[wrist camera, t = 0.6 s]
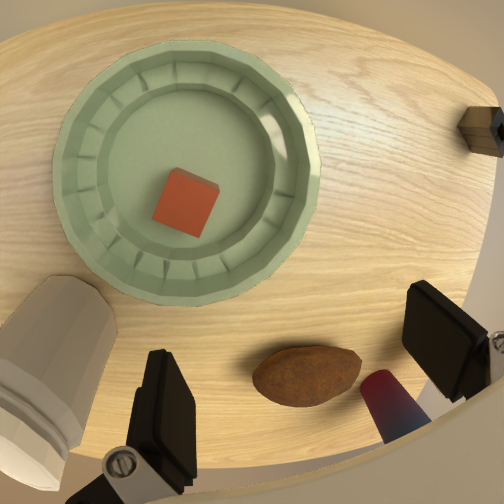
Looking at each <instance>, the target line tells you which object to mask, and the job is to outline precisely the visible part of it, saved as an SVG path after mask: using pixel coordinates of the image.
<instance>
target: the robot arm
mask: <svg viewBox="0 0 504 504" xmlns="http://www.w3.org/2000/svg"><path fill="white" fill-rule="evenodd" d="M487 334H488V331H486V330H485V329H484V328H483V327H482V326H480V324H478V323H477V322H476V321H475V320H474V319H473V318H471V317H470V316H469V315H468V314H467V313H466V312H464V311H463V310H462V309H461V308H459V307H458V306H457V305H456V304H455V303H453V302H452V301H451V300H450V299H448V298H447V297H446V296H445V295H443V294H442V293H441V292H440V291H438V290H437V289H436V288H434V287H433V286H432V285H431V284H429V283H428V282H427V281H425V280H421V281H418V282H415V283H412V284H411V285H410V288H409V289H408V291H407V300H406V310H405V319H404V327H403V335H402V343H403V346H404V347H405V349H406V350H407V351H408V352H409V354H410V355H411V356H412V357H413V358H414V360H415V361H416V362H417V363H418V364H419V366H420V367H421V368H422V369H423V371H424V372H425V373H426V374H427V376H428V377H429V378H430V379H431V381H432V382H433V383H434V384H435V386H436V387H437V388H438V389H439V391H440V392H441V393H442V395H443V396H444V397H445V398H449V399H450V400H451V402H452V403H454V402H456V401H457V400H459V399H460V398H462V396H464V397H465V398H466V401H465V402H464V403H462V404H461V405H459V406H457V407H456V408H454V409H453V410H451V411H449V412H447V413H446V414H444V415H442V416H441V417H439V418H438V419H435V420H434V421H432V422H430V423H428V424H426V425H424V426H422V427H421V428H419V429H417V430H415V431H413V432H411V433H409V434H407V435H405V436H403V437H401V438H398V439H396V440H394V441H392V442H390V443H387V444H385V445H383V446H381V447H378V448H376V449H373V450H372V451H369V452H366V453H364V454H361V455H358V456H356V457H353V458H350V459H348V460H345V461H342V462H339V463H336V464H333V465H330V466H327V467H323V468H320V469H317V470H314V471H310V472H307V473H303V474H299V475H296V476H291V477H287V478H283V479H279V480H274V481H270V482H265V483H259V484H254V485H249V486H243V487H237V488H231V489H224V490H216V491H208V492H201V493H192V494H184V495H183V494H182V493H183V492H184V486H193V479H195V478H197V458H196V404H195V400H194V397H193V395H192V393H191V391H190V389H189V387H188V385H187V383H186V382H185V380H184V378H183V376H182V374H181V371H180V369H179V367H178V365H177V363H176V361H175V359H174V357H173V355H172V353H171V352H166V350H165V349H160V350H154V351H150V352H149V354H148V359H147V363H146V368H145V373H144V378H143V383H142V387H138V388H137V390H136V392H135V397H134V402H133V407H132V412H131V418H130V423H129V429H128V435H127V440H126V446H119V447H116V448H113V449H111V450H110V451H109V452H108V453H107V454H106V455H105V457H104V458H103V461H102V471H103V474H101V475H100V476H99V477H97V478H96V479H95V480H93V481H92V482H91V483H89V484H88V485H87V486H85V487H84V488H82V489H81V490H80V491H78V492H77V493H75V494H74V495H73V496H71V497H70V498H69V499H68V500H67V501H66V503H65V504H504V331H498V332H495V333H493V334H492V335H491V337H490V338H488V337H487Z"/></svg>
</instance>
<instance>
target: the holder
mask: <svg viewBox="0 0 504 504" xmlns="http://www.w3.org/2000/svg"><path fill="white" fill-rule="evenodd" d="M457 127H458V129H459V131H460V132H461V134H462V136H463V138H464V140H465V141H466V143H467V145H468V147H469V149H470V151H471V152H472V153H477V154H483V155H489V156H494V157H499V158H503V156H504V138H500V137H499V134H498V132H497V130H498V128H499V127H504V113H503V111H502V109H501V107H481V106H470V107H469V108H468V110H467V112H466V113H465V115H464V116H463V118H462V119H461V121H460V122H459V124H458V125H457Z"/></svg>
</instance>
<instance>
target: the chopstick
mask: <svg viewBox="0 0 504 504" xmlns="http://www.w3.org/2000/svg"><path fill="white" fill-rule="evenodd" d="M497 132H498V134H499V137H500V138H504V127H499V128H498V130H497Z"/></svg>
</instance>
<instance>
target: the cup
mask: <svg viewBox="0 0 504 504" xmlns="http://www.w3.org/2000/svg"><path fill="white" fill-rule="evenodd" d="M360 392H361V394H362V396H363V399H364V401H365V403H366V405H367V407H368V409H369V411H370V413H371V415H372V418H373V420H374V422H375V424H376V426H377V428H378V431H379V433H380V435H381V437H382V439H383V441H384V444H387V443H390V442H392V441H394V440H396V439H398V438H401V437H403V436H405V435H407V434H409V433H411V432H413V431H415V430H417V429H419V428H421V427H422V426H424V425H426V424H428V423H430V422H432V421H431V419H430V418H429V417H428V416H427V415H426V413H425V412H424V411H423V410H422V409H421V408H420V406H419V405H418V404H417V403H416V401H415V400H414V399H413V398H412V397H411V396H410V394H409V393H408V392H407V391H406V390H405V388H404V387H403V386H402V385H401V384H400V383H399V381H398V380H397V379H396V378H395V377H394V376H393V374H392V373H391V372H390V371H388V370H380V371H377V372H375V373H373V374H372V375H370V376H369V377H368V378H367V379H366V380H365V381H364V382H363V383H362V385H361V388H360Z"/></svg>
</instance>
